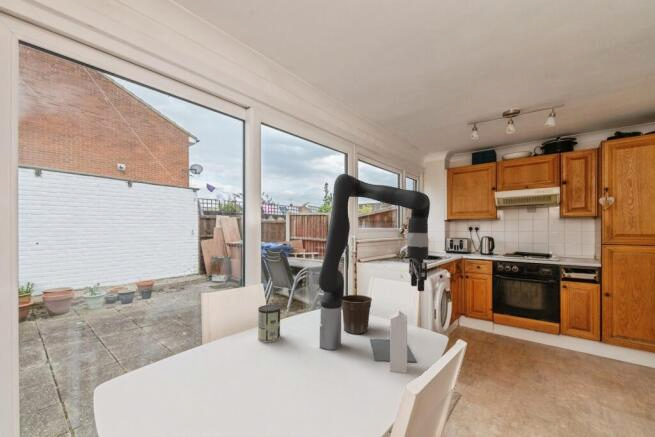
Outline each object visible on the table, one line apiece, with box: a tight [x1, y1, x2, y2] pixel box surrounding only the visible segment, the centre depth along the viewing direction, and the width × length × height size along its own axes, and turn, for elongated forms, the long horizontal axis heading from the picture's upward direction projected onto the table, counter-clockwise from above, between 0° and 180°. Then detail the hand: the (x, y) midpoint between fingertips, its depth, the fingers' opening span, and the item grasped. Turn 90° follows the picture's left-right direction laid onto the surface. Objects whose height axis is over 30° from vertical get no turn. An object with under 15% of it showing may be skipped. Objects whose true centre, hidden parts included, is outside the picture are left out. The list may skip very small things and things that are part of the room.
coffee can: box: [257, 304, 281, 343], centre depth 132 cm, size 10×10×14 cm
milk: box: [389, 310, 408, 374], centre depth 105 cm, size 6×6×22 cm
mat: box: [369, 338, 418, 364], centre depth 120 cm, size 16×21×1 cm
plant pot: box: [341, 294, 373, 335], centre depth 144 cm, size 16×16×16 cm
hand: (417, 288), depth 106 cm, fingers open, 8 cm apart
